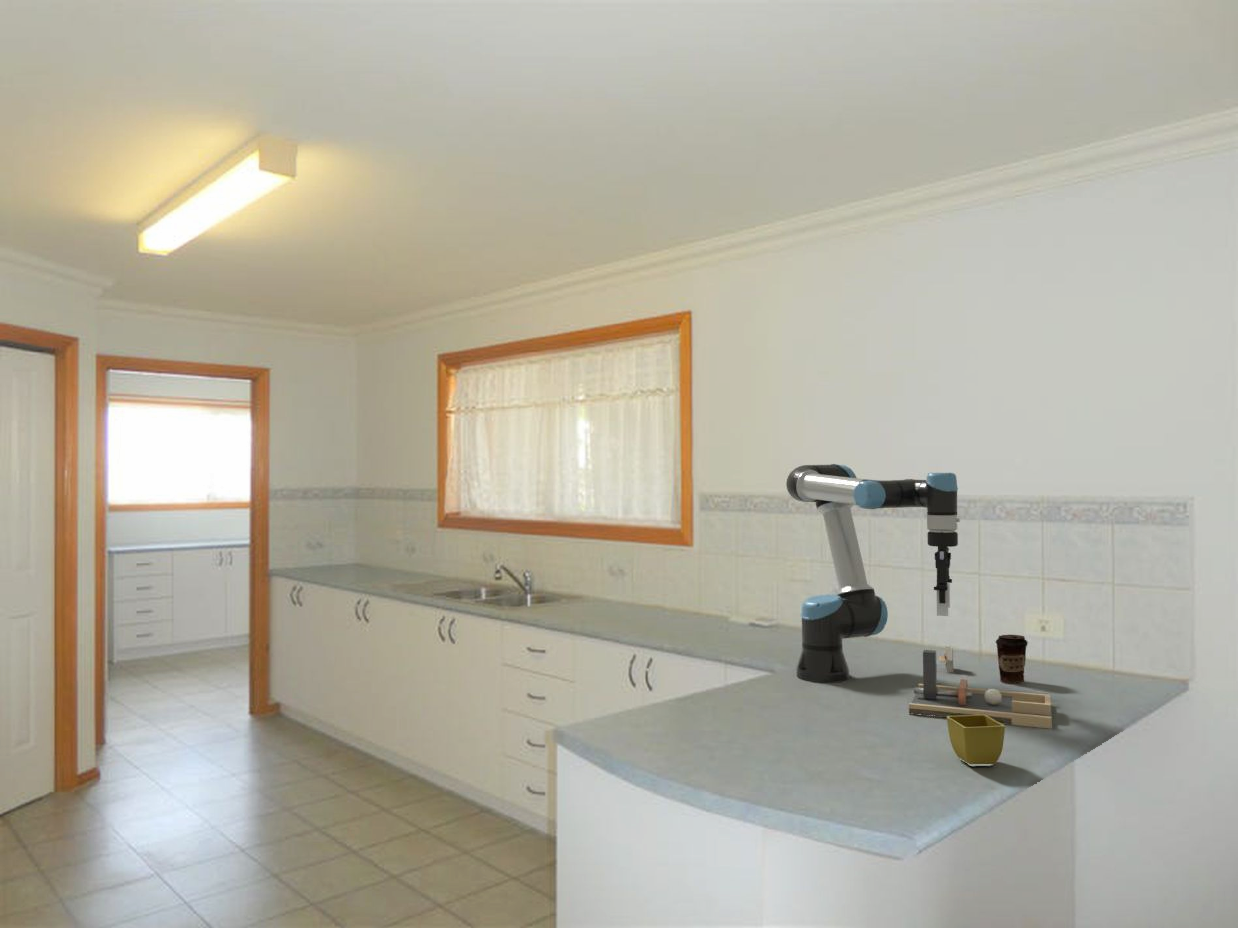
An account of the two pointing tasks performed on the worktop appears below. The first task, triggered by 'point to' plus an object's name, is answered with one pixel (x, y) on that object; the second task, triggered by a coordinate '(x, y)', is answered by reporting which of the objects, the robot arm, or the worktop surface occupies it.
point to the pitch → (989, 707)
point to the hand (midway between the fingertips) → (943, 611)
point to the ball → (993, 696)
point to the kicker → (931, 681)
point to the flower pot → (976, 738)
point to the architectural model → (948, 659)
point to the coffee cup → (1011, 658)
